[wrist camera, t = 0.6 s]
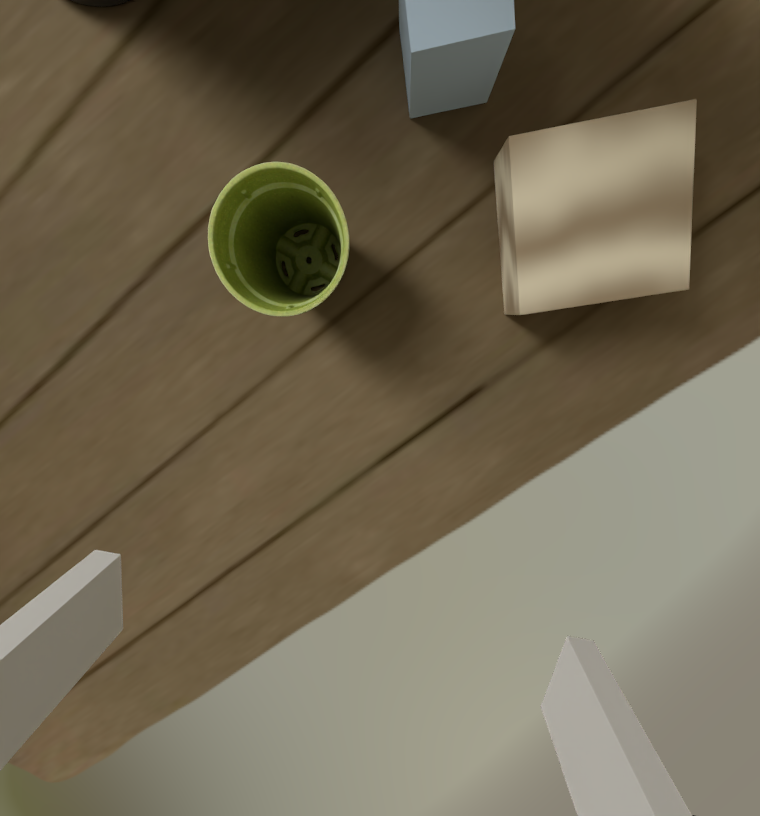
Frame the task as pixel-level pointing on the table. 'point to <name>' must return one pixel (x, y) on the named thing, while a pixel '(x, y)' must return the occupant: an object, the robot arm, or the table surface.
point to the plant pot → (278, 238)
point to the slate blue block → (452, 51)
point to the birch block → (596, 209)
